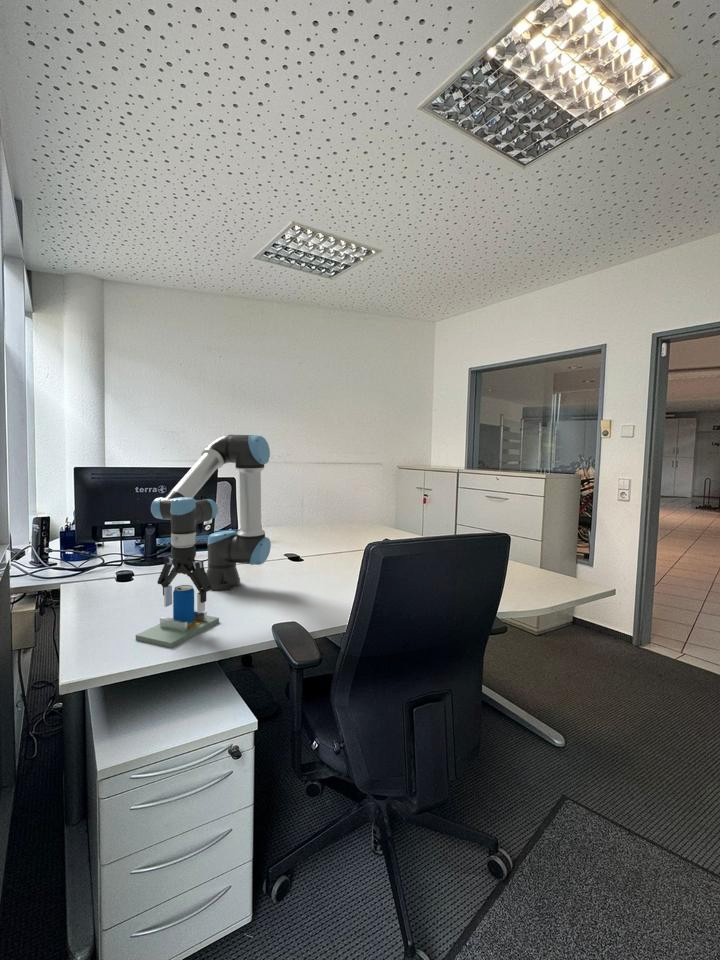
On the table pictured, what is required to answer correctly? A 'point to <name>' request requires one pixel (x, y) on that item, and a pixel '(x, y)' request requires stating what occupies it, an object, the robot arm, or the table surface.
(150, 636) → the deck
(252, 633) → the table surface
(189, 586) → the beverage can
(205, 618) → the chute bracket
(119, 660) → the table surface
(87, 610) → the table surface
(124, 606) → the table surface
